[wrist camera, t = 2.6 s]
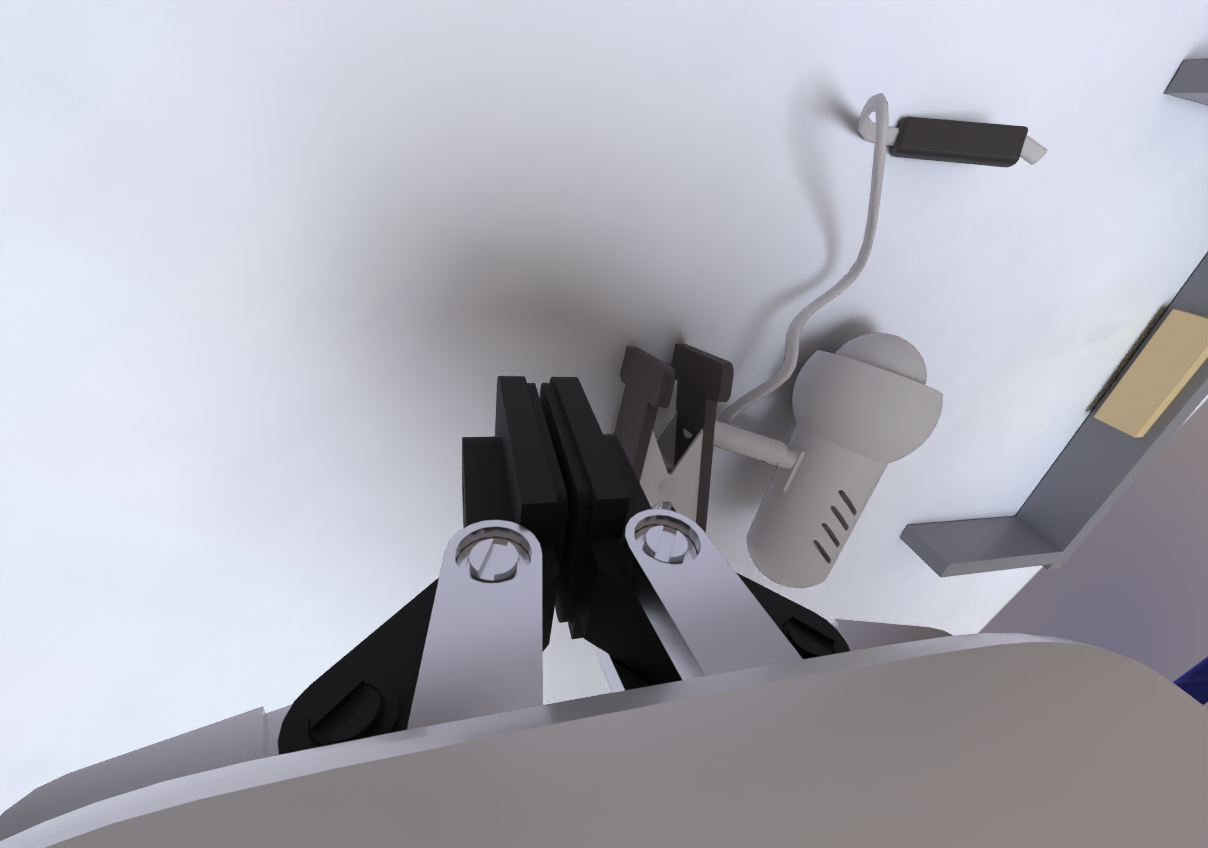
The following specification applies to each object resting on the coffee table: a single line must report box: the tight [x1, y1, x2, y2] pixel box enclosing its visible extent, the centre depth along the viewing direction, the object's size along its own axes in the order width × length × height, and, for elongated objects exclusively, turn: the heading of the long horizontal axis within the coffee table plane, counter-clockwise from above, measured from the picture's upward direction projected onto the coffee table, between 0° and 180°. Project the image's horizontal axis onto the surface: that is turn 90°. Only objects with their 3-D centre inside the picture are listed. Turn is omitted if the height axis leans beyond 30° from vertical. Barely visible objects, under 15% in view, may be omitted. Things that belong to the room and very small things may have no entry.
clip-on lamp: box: [614, 93, 1047, 588], centre depth 18 cm, size 12×6×18 cm
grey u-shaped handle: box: [900, 59, 1208, 577], centre depth 24 cm, size 24×10×3 cm, turn 171°
